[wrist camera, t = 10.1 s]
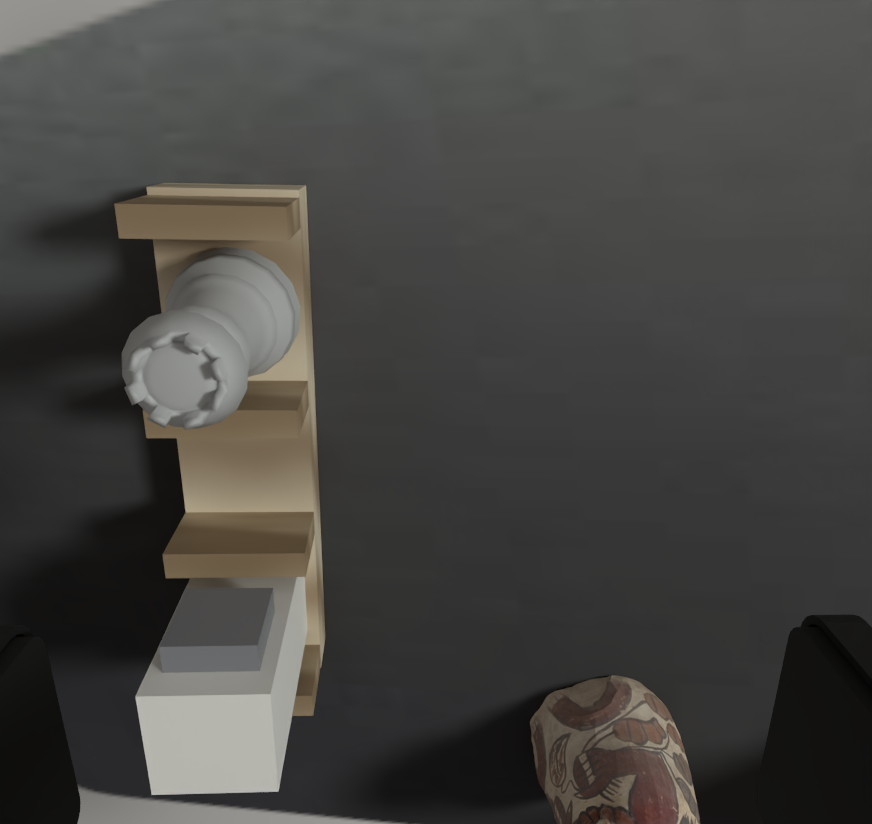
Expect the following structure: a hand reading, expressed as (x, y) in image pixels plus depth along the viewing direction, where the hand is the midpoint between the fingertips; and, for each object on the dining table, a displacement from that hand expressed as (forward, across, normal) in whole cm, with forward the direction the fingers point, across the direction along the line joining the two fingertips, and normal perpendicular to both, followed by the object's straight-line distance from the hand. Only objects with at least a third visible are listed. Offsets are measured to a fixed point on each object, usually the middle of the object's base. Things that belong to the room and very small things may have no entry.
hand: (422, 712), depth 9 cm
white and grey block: (+18, +7, +11) cm, 22 cm away
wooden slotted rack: (+20, +7, +5) cm, 22 cm away
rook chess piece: (+18, +6, -1) cm, 19 cm away
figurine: (+21, -9, +21) cm, 31 cm away
